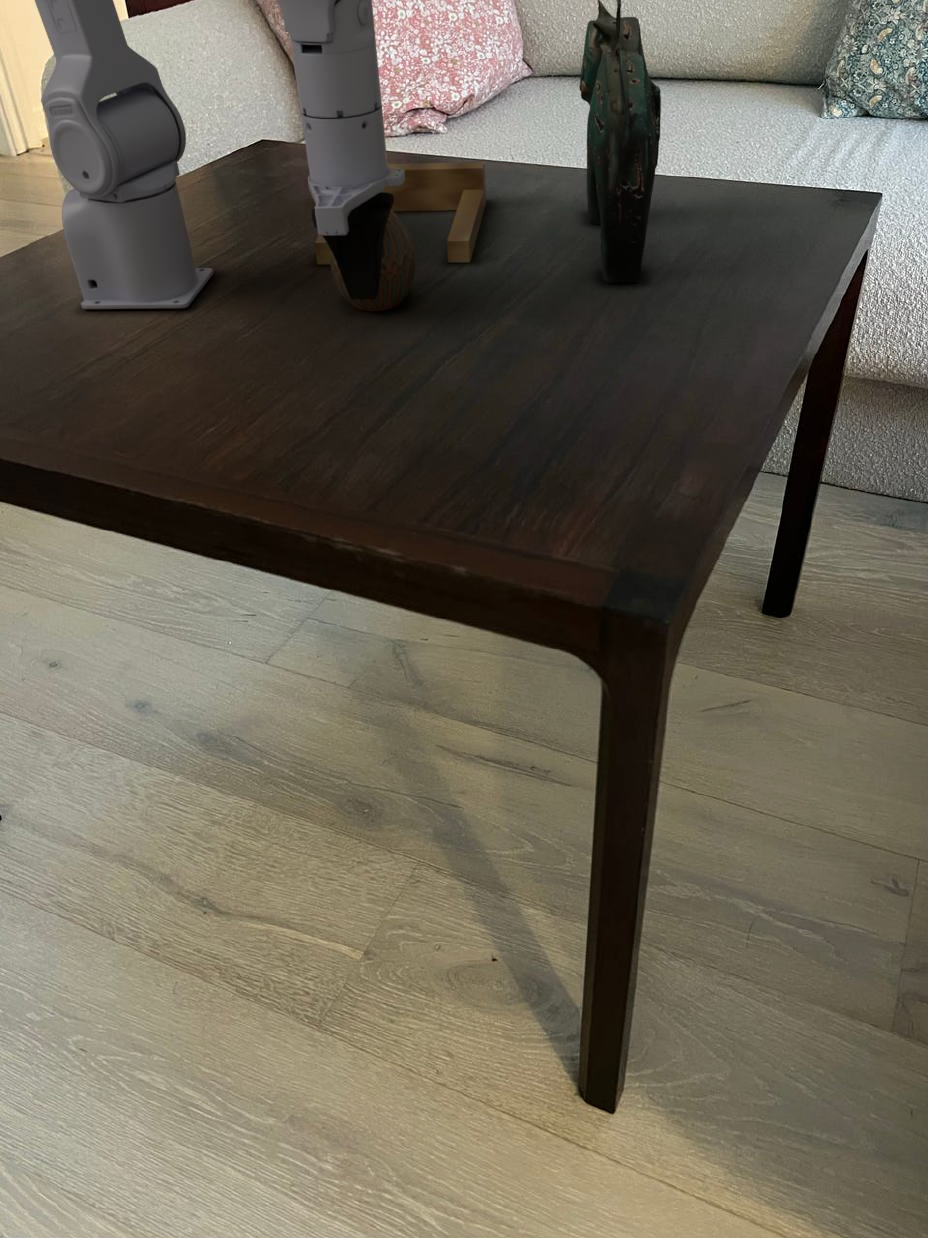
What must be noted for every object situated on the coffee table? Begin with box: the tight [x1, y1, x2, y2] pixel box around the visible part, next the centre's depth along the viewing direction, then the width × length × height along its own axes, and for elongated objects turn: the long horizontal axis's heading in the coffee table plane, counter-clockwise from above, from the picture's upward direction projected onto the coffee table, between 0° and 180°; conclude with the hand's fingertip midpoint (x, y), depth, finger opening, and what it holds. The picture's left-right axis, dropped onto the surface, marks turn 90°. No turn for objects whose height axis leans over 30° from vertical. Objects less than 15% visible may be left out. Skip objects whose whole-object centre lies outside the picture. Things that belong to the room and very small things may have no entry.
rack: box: [313, 161, 487, 266], centre depth 96 cm, size 14×16×4 cm
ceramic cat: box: [579, 0, 662, 284], centre depth 86 cm, size 20×6×20 cm, turn 178°
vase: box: [329, 209, 416, 312], centre depth 82 cm, size 7×7×9 cm
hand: (364, 296), depth 80 cm, fingers closed
